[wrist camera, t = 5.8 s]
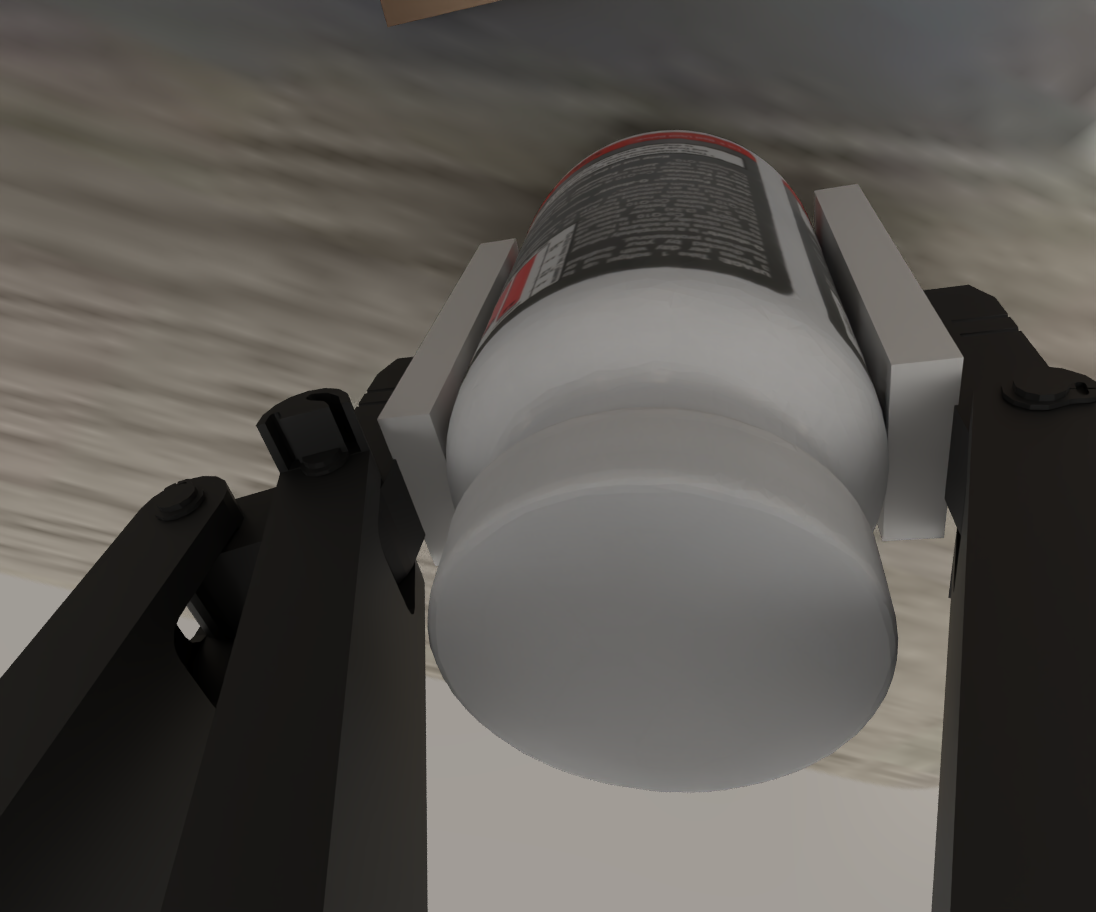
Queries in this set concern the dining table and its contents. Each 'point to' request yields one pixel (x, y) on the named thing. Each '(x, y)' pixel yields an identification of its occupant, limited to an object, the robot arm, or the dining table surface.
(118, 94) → the dining table surface
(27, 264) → the dining table surface
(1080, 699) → the robot arm
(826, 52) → the dining table surface
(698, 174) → the pill bottle
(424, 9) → the board
